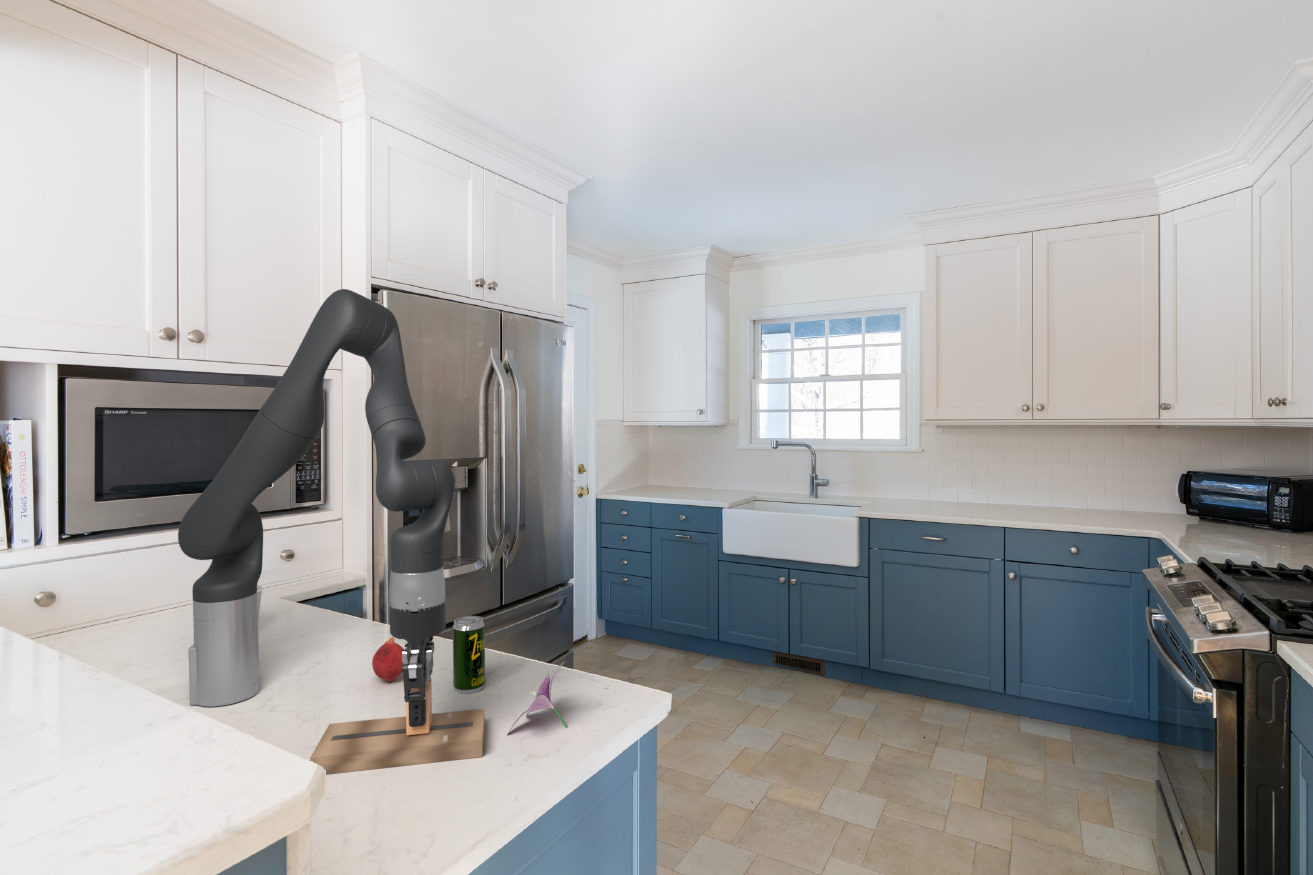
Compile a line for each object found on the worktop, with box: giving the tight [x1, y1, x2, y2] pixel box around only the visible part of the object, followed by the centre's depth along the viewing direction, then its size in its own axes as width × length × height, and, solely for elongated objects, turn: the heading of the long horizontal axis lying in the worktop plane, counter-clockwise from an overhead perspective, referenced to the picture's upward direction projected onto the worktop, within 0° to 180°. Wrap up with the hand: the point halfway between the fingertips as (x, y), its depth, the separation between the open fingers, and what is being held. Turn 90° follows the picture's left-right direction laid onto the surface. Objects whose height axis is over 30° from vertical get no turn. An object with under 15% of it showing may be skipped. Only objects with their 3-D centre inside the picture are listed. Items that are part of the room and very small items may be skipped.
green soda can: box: [452, 615, 486, 695], centre depth 117 cm, size 5×5×12 cm
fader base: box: [309, 708, 486, 775], centre depth 96 cm, size 22×10×3 cm, turn 103°
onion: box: [371, 636, 405, 683], centre depth 120 cm, size 6×6×8 cm
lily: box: [507, 661, 568, 734], centre depth 102 cm, size 12×12×10 cm
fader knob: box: [405, 679, 433, 735], centre depth 96 cm, size 3×4×6 cm
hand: (419, 717), depth 96 cm, fingers closed on fader knob, 4 cm apart
